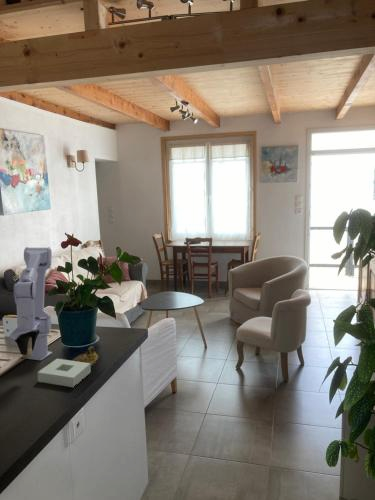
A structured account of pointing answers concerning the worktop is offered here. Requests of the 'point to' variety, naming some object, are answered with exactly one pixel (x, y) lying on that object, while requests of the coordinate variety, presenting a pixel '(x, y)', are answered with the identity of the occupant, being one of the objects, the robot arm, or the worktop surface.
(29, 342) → the peg
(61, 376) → the socket board
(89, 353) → the yellow lumpy piece
